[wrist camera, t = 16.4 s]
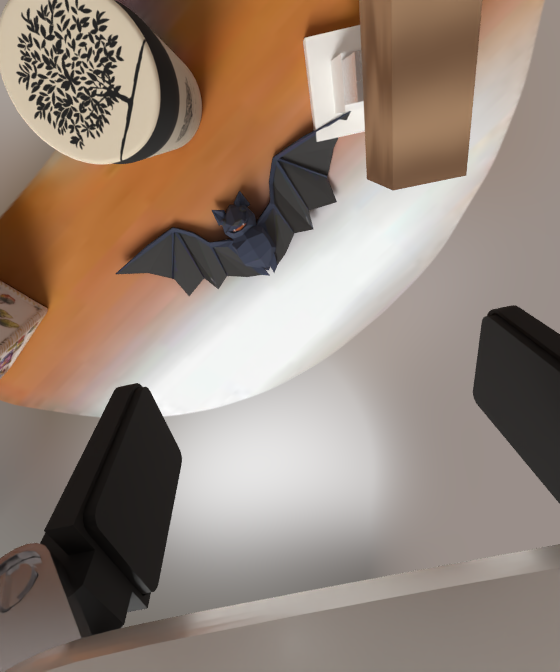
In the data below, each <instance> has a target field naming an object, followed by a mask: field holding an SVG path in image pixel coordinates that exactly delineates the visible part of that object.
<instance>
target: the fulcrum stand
mask: <svg viewBox="0 0 560 672" xmlns="http://www.w3.org/2000/svg"><path fill="white" fill-rule="evenodd" d="M303 45H304V53H305V61H306V69H307V78H308V86H309V94H310V102H311V110H312V119H313V127H314V130H316V129H318V128H320V127H322V126H323V125H325V124H327V123H329V122H331V121H332V120H334V119H336V118H338V117H340V116H342V115H343V114H345V113H347V112H349V111H351V112H350V114H349V117H348V119H347V120H340V119H339V120H338V121H336V122H335V123H333V124H332V125H330V126H328V127H325V128H323V129H321V130H319V131H317V132H316V142H319V141H324V140H328V139H333V138H337V137H342V136H346V135H351V134H355V133H359V132H364V131H365V123H364V100H363V78H362V55H361V32H360V25H357V26H353V27H349V28H345V29H340V30H336V31H332V32H327V33H323V34H319V35H314V36H310V37H306V38H304V40H303Z"/></svg>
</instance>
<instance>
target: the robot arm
mask: <svg viewBox="0 0 560 672" xmlns="http://www.w3.org/2000/svg"><path fill="white" fill-rule="evenodd" d="M473 396H474V399H475V401H476V403H477V404H478V406H479V407H480V408H481V409H482V411H483V412H484V413H485V414H486V415H487V417H488V418H489V419H490V420H491V421H492V423H493V424H494V425H495V426H496V427H497V429H498V430H499V431H500V432H501V433H502V435H503V436H504V437H505V438H506V439H507V441H508V442H509V443H510V444H511V446H512V447H513V448H514V449H515V450H516V452H517V453H518V454H519V455H520V456H521V458H522V459H523V460H524V461H525V462H526V464H527V465H528V466H529V467H530V468H531V470H532V471H533V472H534V473H535V474H536V476H537V477H538V478H539V479H540V480H541V482H542V483H543V484H544V485H545V486H546V488H547V489H548V490H549V491H550V493H551V494H552V495H553V496H554V497H555V498H556V500H557V501H558V502H559V503H560V334H559V333H557V332H555V331H554V330H552V329H551V328H549V327H548V326H546V325H545V324H543V323H542V322H540V321H539V320H537V319H536V318H534V317H533V316H531V315H530V314H528V313H527V312H525V311H524V310H522V309H521V308H519V307H517V306H507V307H502V308H498V309H493V310H491V311H489V313H488V315H487V316H486V317H484V318H483V320H482V325H481V333H480V341H479V349H478V356H477V364H476V372H475V380H474V387H473ZM181 463H182V456H181V452H180V450H179V447H178V445H177V443H176V442H175V439H174V437H173V435H172V433H171V431H170V430H169V428H168V426H167V424H166V422H165V420H164V418H163V416H162V414H161V412H160V410H159V408H158V406H157V404H156V402H155V400H154V398H153V396H152V394H151V392H150V390H149V389H148V388H147V387H142V386H141V385H140V384H138V383H136V384H131V385H126V386H121V387H118V388H116V389H115V390H114V392H113V394H112V396H111V398H110V400H109V402H108V404H107V406H106V408H105V410H104V412H103V414H102V416H101V418H100V420H99V422H98V425H97V426H96V428H95V430H94V432H93V434H92V436H91V438H90V440H89V442H88V444H87V446H86V448H85V450H84V452H83V454H82V456H81V458H80V460H79V462H78V464H77V466H76V468H75V470H74V472H73V474H72V476H71V478H70V480H69V482H68V484H67V486H66V488H65V490H64V492H63V494H62V496H61V498H60V500H59V502H58V504H57V506H56V508H55V510H54V512H53V514H52V516H51V518H50V520H49V522H48V524H47V526H46V528H45V530H44V531H45V532H46V533H45V535H44V537H43V539H42V541H41V543H40V544H39V543H30V544H25V545H23V546H20V547H18V548H15V549H14V550H12V551H10V552H9V553H7V554H5V555H4V556H3V557H1V558H0V672H560V544H559V545H553V546H548V547H542V548H537V549H531V550H526V551H520V552H515V553H509V554H503V555H498V556H492V557H487V558H481V559H476V560H470V561H466V562H460V563H454V564H449V565H444V566H438V567H433V568H428V569H422V570H417V571H411V572H406V573H400V574H395V575H390V576H384V577H379V578H374V579H369V580H363V581H358V582H352V583H347V584H342V585H337V586H331V587H326V588H321V589H315V590H310V591H305V592H300V593H295V594H289V595H284V596H279V597H274V598H268V599H263V600H258V601H253V602H248V603H242V604H237V605H232V606H227V607H222V608H217V609H211V610H207V611H201V612H196V613H191V614H186V615H181V616H176V617H172V618H167V619H162V620H158V621H153V622H148V623H143V624H139V625H134V626H129V627H125V628H123V625H124V623H125V618H126V614H127V612H131V611H136V610H141V609H146V608H148V604H149V599H150V594H151V592H154V591H155V590H156V588H157V586H158V582H159V578H160V572H161V567H162V562H163V557H164V552H165V547H166V541H167V536H168V531H169V525H170V520H171V516H172V510H173V505H174V500H175V494H176V490H177V484H178V479H179V474H180V469H181Z"/></svg>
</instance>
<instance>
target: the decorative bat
mask: <svg viewBox="0 0 560 672" xmlns="http://www.w3.org/2000/svg"><path fill="white" fill-rule="evenodd" d="M350 112H351V111H349V112H347V113H345V114H343V115H342V116H340V117H338V118H336V119H334V120H332V121H331V122H329V123H327V124H325V125H323V126H322V127H320V128H318V129H316V130H314V131H312V132H310V133H309V134H307V135H305V136H303V137H302V138H300V139H299V140H297V141H296V142H294V143H293V144H291V145H290V146H288V147H287V148H285V149H284V150H282V151H281V152H279V153H278V154H277V155H275V156H274V157H273V159H272V165H271V171H270V178H269V190H270V203H269V205H268V206H267V207H266V209H265V210H264V212H263V213H262V215H261V216H260V218H259V219H258V222H257V224H256V219H255V214H254V213H253V212H252V211H251V210H250V209H249V208H247V207H248V206H249V205H250V204H249V202H248V201H247V200H246V198H245V197H244V196H243V195H242V193H241V192H240V191H239V193H238V195H237V197H236V199H235V202H234V204H235V205H229V207H228V209H227V211H226V213H225V211H224V210H212V212H213V214H214V216H215V218H216V220H217V223H218V225H222V226H223V229H224V232H225V234H226V235H227V236H229V237H230V238H232V239H233V240H230V239H227V240H221V241H215V242H209V241H207V240H205V239H204V238H202V237H200V236H199V235H197V234H195V233H193V232H190V231H186V230H183V229H179V228H174V227H172V228H171V229H169V230H168V231H167V232H165V233H164V234H162V235H161V236H160V237H158V238H157V239H155V240H154V241H153V242H151V243H150V244H148V245H147V246H146V247H145V248H144V249H143V250H142V251H140V252H139V253H138V254H137V255H136V256H135V257H134V258H133V259H132V260H130V261H129V262H128V263H127V264H126V265H125V266H124V267H123V268H121V269H120V270H119V271H118V272H117V273H116V274H133V273H151V274H155V275H160V276H164V277H168V278H172V279H175V280H176V282H177V283H178V284H179V285H180V286H181V287H182V288H183V290H184V291H185V292H186V293H187V294H188V295H189V296H190V295H191V294H192V292H193V291H194V290H195V289H196V287H197V286H198V285H199V284H200V283H201V281H202V280H203V279H204V278H205V279H206V280H208V281H209V282H210V283H211V284H213V285H214V286H215V287H216V288H218V289H219V287H220V286H221V284H222V283H223V281H224V280H225V278H226V277H227V276H241V277H250V276H257V275H269V274H268V272H267V271H266V270H269V269H270V266H271V268H272V270H273V272H275V270H276V267H277V265H278V263H279V262H280V260H281V259H282V258H283V256H284V255H285V253H286V252H287V249H288V247H289V244H290V242H291V240H292V237H293V235H294V233H297V232H302V231H307V230H312V229H313V226H312V222H311V218H310V214H309V210H312V209H315V208H319V207H322V206H325V205H329V204H332V203H335V202H337V201H336V199H335V196H334V194H333V191H332V189H331V186H330V184H329V181H328V179H327V176H328V172H329V167H330V162H331V158H332V153H333V148H334V146H335V144H336V142H337V140H338V137H337V138H333V139H328V140H324V141H319V142H316V132H317V131H319V130H321V129H323V128H325V127H328V126H330V125H332V124H333V123H335V122H336V121H338V120H339V119H340V120H347V119H348V117H349V114H350Z"/></svg>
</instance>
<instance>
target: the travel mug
mask: <svg viewBox="0 0 560 672" xmlns="http://www.w3.org/2000/svg"><path fill="white" fill-rule="evenodd" d="M0 72H1V76H2V79H3V82H4V85H5V87H6V89H7V92H8V94H9V96H10V98H11V100H12V102H13V104H14V106H15V107H16V109H17V111H18V112H19V113H20V115H21V116H22V118H23V119H24V121H25V122H26V123H27V124H28V125H29V126H30V128H31V129H32V130H33V131H34V132H35V133H36V134H37V135H38V136H39V137H40V138H41V139H42V140H44V141H45V142H46V143H47V144H49V145H50V146H51V147H53V148H54V149H56V150H57V151H59V152H61V153H63V154H64V155H67V156H69V157H71V158H73V159H76V160H79V161H82V162H86V163H92V164H111V163H113V164H127V163H133V162H136V161H140V160H143V159H146V158H149V157H152V156H155V155H159V154H162V153H165V152H168V151H171V150H174V149H178V148H180V147H182V146H184V145H185V144H186V143H188V142H189V141H190V140H191V139H192V137H193V136H194V135H195V133H196V131H197V129H198V127H199V124H200V121H201V116H202V100H201V94H200V90H199V87H198V85H197V82H196V80H195V78H194V76H193V74H192V73H191V71H190V70H189V69H188V67H187V66H186V65H185V64H184V63H183V62H182V61H181V60H180V59H179V57H178V56H177V55H176V54H175V53H174V52H173V51H172V50H171V49H170V48H169V47H168V46H167V45H166V44H165V43H164V42H163V41H162V40H161V39H160V38H159V37H158V36H157V35H156V34H155V33H154V32H153V31H152V30H151V29H150V28H149V27H148V26H147V25H146V24H145V23H144V22H143V21H142V20H141V19H140V18H139V17H138V16H137V15H136V14H135V13H133V12H132V11H131V10H130V9H128V8H127V7H125V6H124V5H122V4H121V3H119V2H117V1H115V0H9V1H8V3H7V5H6V6H5V8H4V10H3V12H2V15H1V18H0Z"/></svg>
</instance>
